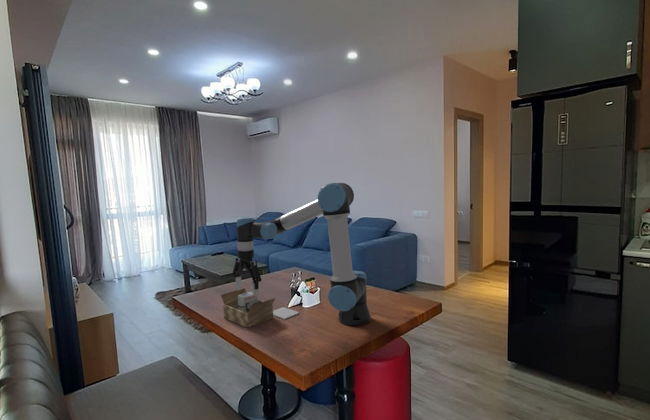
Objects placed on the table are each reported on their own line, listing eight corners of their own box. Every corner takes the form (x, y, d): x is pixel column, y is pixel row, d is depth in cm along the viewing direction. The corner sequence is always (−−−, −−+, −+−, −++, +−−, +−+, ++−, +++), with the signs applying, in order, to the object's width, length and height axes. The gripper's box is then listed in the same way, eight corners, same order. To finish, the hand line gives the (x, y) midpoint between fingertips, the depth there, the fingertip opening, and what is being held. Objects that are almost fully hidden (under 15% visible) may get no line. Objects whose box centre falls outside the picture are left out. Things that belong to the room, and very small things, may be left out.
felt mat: (299, 313, 170) (299, 312, 170) (284, 319, 162) (284, 318, 162) (283, 308, 178) (283, 307, 178) (268, 313, 170) (268, 312, 170)
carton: (277, 319, 164) (276, 297, 163) (251, 329, 152) (250, 306, 151) (246, 307, 180) (245, 287, 179) (220, 316, 169) (219, 295, 168)
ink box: (244, 321, 161) (242, 297, 161) (238, 319, 165) (237, 295, 164) (258, 316, 168) (257, 292, 167) (252, 313, 171) (251, 290, 170)
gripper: (268, 251, 158) (269, 296, 160) (237, 245, 175) (238, 285, 176) (255, 254, 153) (256, 300, 154) (224, 247, 169) (225, 289, 171)
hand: (246, 292), depth 165 cm, fingers open, 13 cm apart
